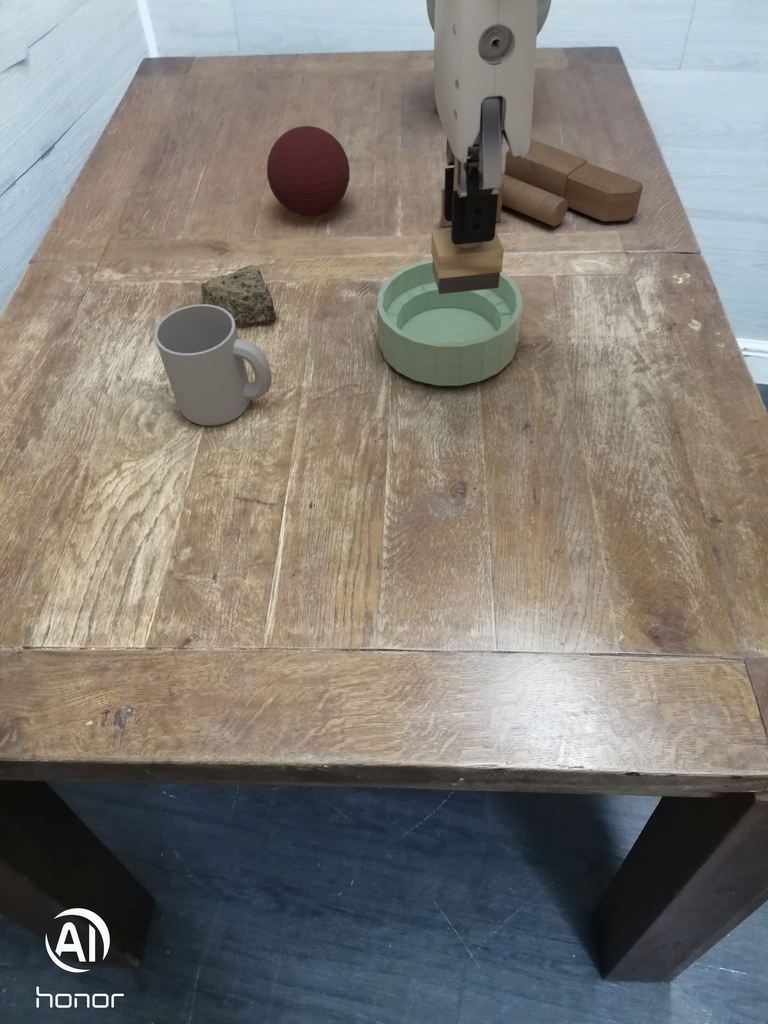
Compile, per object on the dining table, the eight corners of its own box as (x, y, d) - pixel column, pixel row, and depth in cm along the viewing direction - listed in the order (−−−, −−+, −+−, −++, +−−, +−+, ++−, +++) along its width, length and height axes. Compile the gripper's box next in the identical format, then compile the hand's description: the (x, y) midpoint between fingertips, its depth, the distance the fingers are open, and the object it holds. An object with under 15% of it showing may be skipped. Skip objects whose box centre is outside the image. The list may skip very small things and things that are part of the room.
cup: (193, 373, 78) (171, 301, 71) (287, 383, 77) (274, 310, 70) (168, 423, 74) (141, 351, 67) (267, 435, 73) (251, 362, 66)
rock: (213, 338, 82) (203, 303, 78) (201, 296, 86) (191, 261, 83) (278, 323, 83) (272, 288, 79) (263, 283, 88) (256, 248, 84)
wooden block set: (522, 126, 97) (648, 171, 89) (518, 169, 101) (637, 217, 93) (434, 179, 89) (563, 234, 81) (434, 224, 94) (556, 280, 86)
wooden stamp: (491, 263, 63) (501, 142, 55) (500, 288, 61) (512, 166, 53) (430, 269, 63) (432, 148, 55) (438, 295, 61) (440, 173, 53)
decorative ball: (363, 221, 95) (357, 140, 87) (285, 239, 93) (272, 158, 85) (338, 183, 101) (331, 104, 93) (265, 199, 99) (251, 120, 91)
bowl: (543, 334, 80) (549, 289, 76) (464, 410, 74) (466, 366, 69) (433, 286, 86) (434, 242, 82) (351, 353, 79) (347, 309, 75)
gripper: (588, -19, 39) (543, 287, 54) (516, -107, 49) (494, 171, 64) (443, -7, 39) (437, 298, 53) (400, -97, 49) (405, 180, 63)
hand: (468, 227), depth 58 cm, fingers closed on wooden stamp, 2 cm apart
